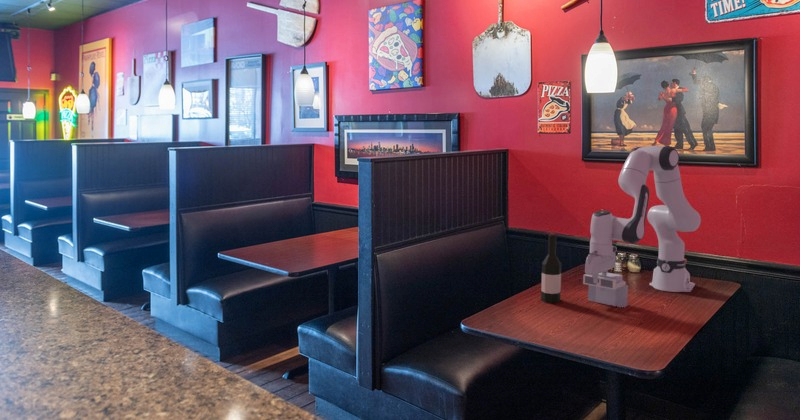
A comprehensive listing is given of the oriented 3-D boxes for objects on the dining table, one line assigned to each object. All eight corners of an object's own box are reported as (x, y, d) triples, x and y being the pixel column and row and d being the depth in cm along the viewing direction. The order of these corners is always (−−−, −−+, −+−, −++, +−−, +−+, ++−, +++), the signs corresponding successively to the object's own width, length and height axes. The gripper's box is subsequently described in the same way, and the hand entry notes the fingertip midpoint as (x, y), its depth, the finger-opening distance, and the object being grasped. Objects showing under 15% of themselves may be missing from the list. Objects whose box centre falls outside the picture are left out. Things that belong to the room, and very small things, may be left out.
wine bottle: (558, 298, 272) (560, 232, 268) (561, 303, 264) (563, 235, 260) (539, 297, 273) (541, 231, 269) (542, 302, 265) (543, 235, 261)
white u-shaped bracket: (594, 279, 268) (595, 270, 268) (625, 285, 259) (625, 275, 258) (583, 283, 261) (583, 274, 260) (614, 289, 251) (614, 280, 251)
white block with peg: (594, 297, 272) (595, 270, 270) (629, 304, 261) (630, 276, 259) (580, 303, 263) (581, 275, 261) (615, 311, 252) (616, 282, 250)
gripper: (595, 254, 245) (594, 287, 247) (618, 247, 259) (617, 278, 261) (581, 252, 249) (580, 285, 251) (604, 245, 264) (603, 276, 266)
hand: (599, 281), depth 256 cm, fingers open, 5 cm apart
